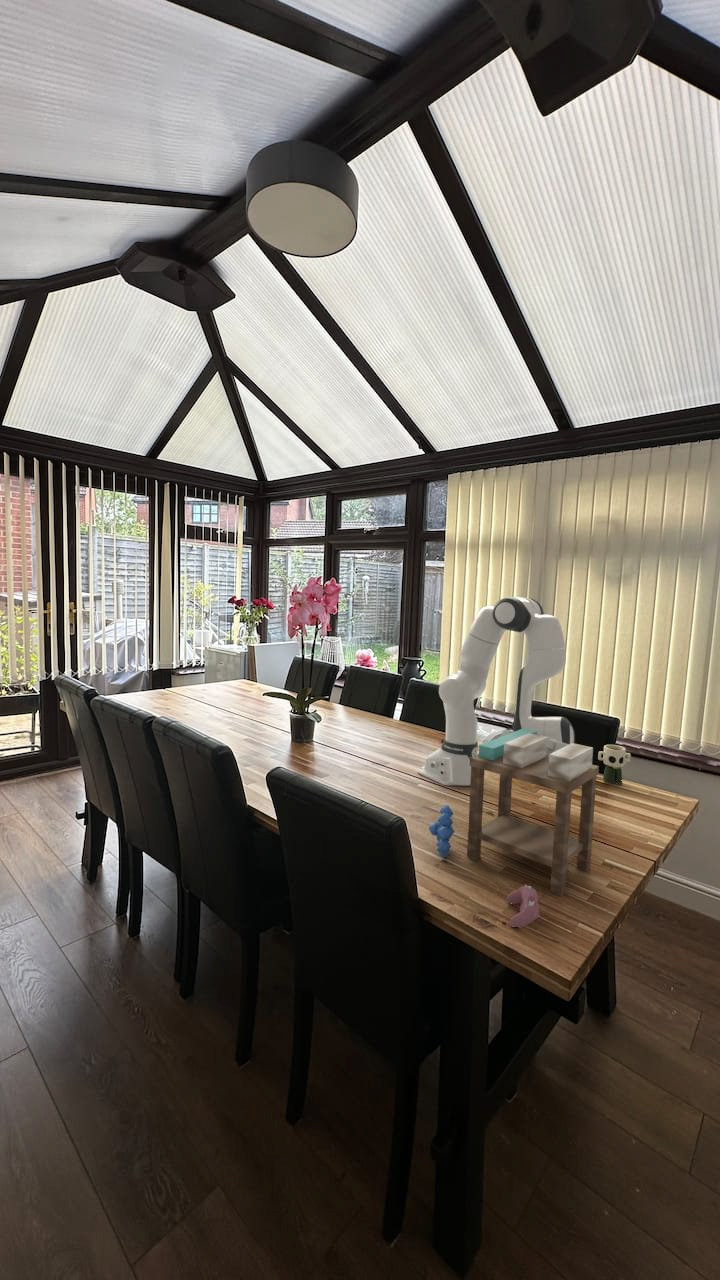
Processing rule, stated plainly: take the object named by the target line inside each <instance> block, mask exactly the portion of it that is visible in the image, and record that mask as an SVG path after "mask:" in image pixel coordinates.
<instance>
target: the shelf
mask: <svg viewBox="0 0 720 1280" xmlns="http://www.w3.org/2000/svg"><path fill="white" fill-rule="evenodd" d="M546 750H547V737H543V736H538V735H534V734H529V733H528V734H526V735H523V736H521V737H518V738H516V739H513V740H511V741H508V742H506V743H504V755H503V756H502V757H499V758H497V759H495V760H490V759H486V758H482V757H479V753H477V755H476V756H473V757H471V758H470V766H471V783H470V785H469V788H470V789H469V808H468V809H469V810H468V811H469V812H468V833H467V851H466V856H467V857H468V858H470V859H472V858H473V860H477V859H479V858H480V857H481V850H482V849H481V847H482V841H484V842H486V843H488V844H491V845H494V846H497V847H499V848H501V849H504V850H507V851H509V852H512V853H513V854H517V855H519V856H522V857H524V858H527V859H530V860H532V861H535V862H537V863H540V864H542V865H545V866H548V867H550V868H551V874H550V876H551V878H550V890H549V891H550V893H552V894H554V895H556V896H559V897H562V896H563V895H564V894H565V893H566V886H567V869H568V863H570V861H572V860H573V858H575V857H576V856H577V857H576V869H579V870H582V871H584V872H588V870H589V869H590V868H591V860H592V858H591V857H592V845H593V833H594V832H593V831H594V817H595V803H596V790H597V776H598V775H599V771H600V769H599V768H600V766H599V765H596V764H593V753H594V747H593V746H587V745H583V744H578V743H576V742H575V743H571V744H569V745H567V746H565V747H563V748H561V749H559V750H557V751H555V752H553V753H551V754H546ZM485 771H488V772H491V773H495V774H498V775H499V787H498V788H499V789H498V803H497V805H498V806H497V808H498V809H497V817H496V818H494V819H493V820H491V821H490V822H488V823H486V824H484V825H483V810H484V809H483V807H484V791H485V789H484V788H485V787H484V786H485ZM513 779H515V780H519V781H521V782H526V783H529V784H531V785H537V786H539V787H543V788H547V789H549V790H554V791H556V796H555V797H556V798H555V812H554V825H553V827H554V829H551V828H547V827H544V826H541V825H538V824H535V823H532V822H529V821H527V820H524V819H521V818H518V817H515V816H512V815H511V807H512V806H511V805H512V790H513V789H512V787H513ZM579 787H581V795H580V810H579V811H580V812H579V813H580V814H579V825H578V838H575V837H573V836H570V824H571V808H572V807H571V806H572V792H573V791H575V790H577V789H578V788H579Z"/></svg>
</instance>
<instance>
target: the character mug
mask: <svg viewBox="0 0 720 1280" xmlns="http://www.w3.org/2000/svg"><path fill="white" fill-rule="evenodd" d="M626 749H627V748H626V747H624V746H621V745H616V744H606V745H604V746H603V751H602V750H601V751H598V754H597V755H598V756H597V759H598V761H603V764H604V765H605V768H604V772H603V777H602V779H603V781H604V782H605V783H608V784H612V785H614V784H615V783H616V785H622V783H623V773H622V772H623V771H622V767H624V766H625V764H626V763H630V762H631V756H632V755H631V753H630V752H627V750H626ZM602 755H603V757H602ZM626 756H627V758H626ZM621 780H622V781H621Z"/></svg>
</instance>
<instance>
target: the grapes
mask: <svg viewBox="0 0 720 1280" xmlns="http://www.w3.org/2000/svg"><path fill="white" fill-rule="evenodd" d="M439 813H440V814H441V815H440V816H439V817H438V820H437V822H436V821H434V822H433V823H431V825H430V826H429V827H428V830H429V831H430V834H431V835H432V836H436V840H437V841H438V842H437V843H436V846H437V852H438V854H439V856H441V857H443V858H445V857H447V856H448V855H449V854H450V852H451V850H450V849H451V848H452V845H451V844H450V839H451V838H452V836H453V835H454V834H455V832H456V831H455V829H454V828H453V826H452V824H453V823H454V822H453V819H452V818H451V817H452V816H453V815H454V811H453V810H452V808H451V807H450V806H449V805H447V804H446V805H444V806H442V808H441V809H440V810H439Z"/></svg>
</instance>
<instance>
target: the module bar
mask: <svg viewBox="0 0 720 1280" xmlns="http://www.w3.org/2000/svg"><path fill="white" fill-rule="evenodd" d="M528 733H529V734H534V735H537V731H535V730H530V729H525V728H523V729H520V730H518V731H515V732H512V733H510V734H507V735H504V736H502V737H501V736H500V737H497V738H495V739H492V740H488V741H486V742H483V743H481V744H478V754H479V757H482V758H486V759H490V760H495V759H497V758H499V757H502V756H503V755H504V743H506V742H508V741H511V740H513V739H516V738H518V737H521V736H523V735H526V734H528Z"/></svg>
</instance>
